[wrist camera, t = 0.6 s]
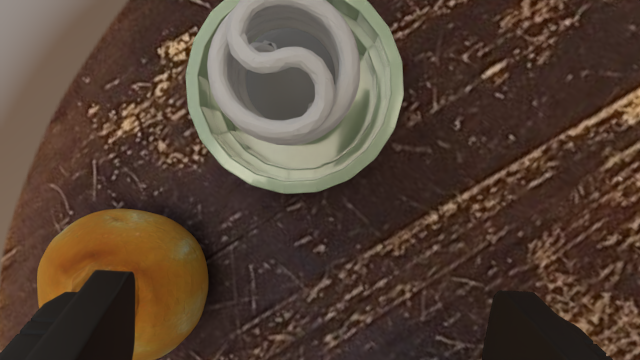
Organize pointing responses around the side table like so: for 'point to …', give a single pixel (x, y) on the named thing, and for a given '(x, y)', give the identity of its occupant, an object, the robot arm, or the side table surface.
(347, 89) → the light bulb
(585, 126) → the side table surface
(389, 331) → the side table surface
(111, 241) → the fruit
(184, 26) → the side table surface
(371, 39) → the bowl
